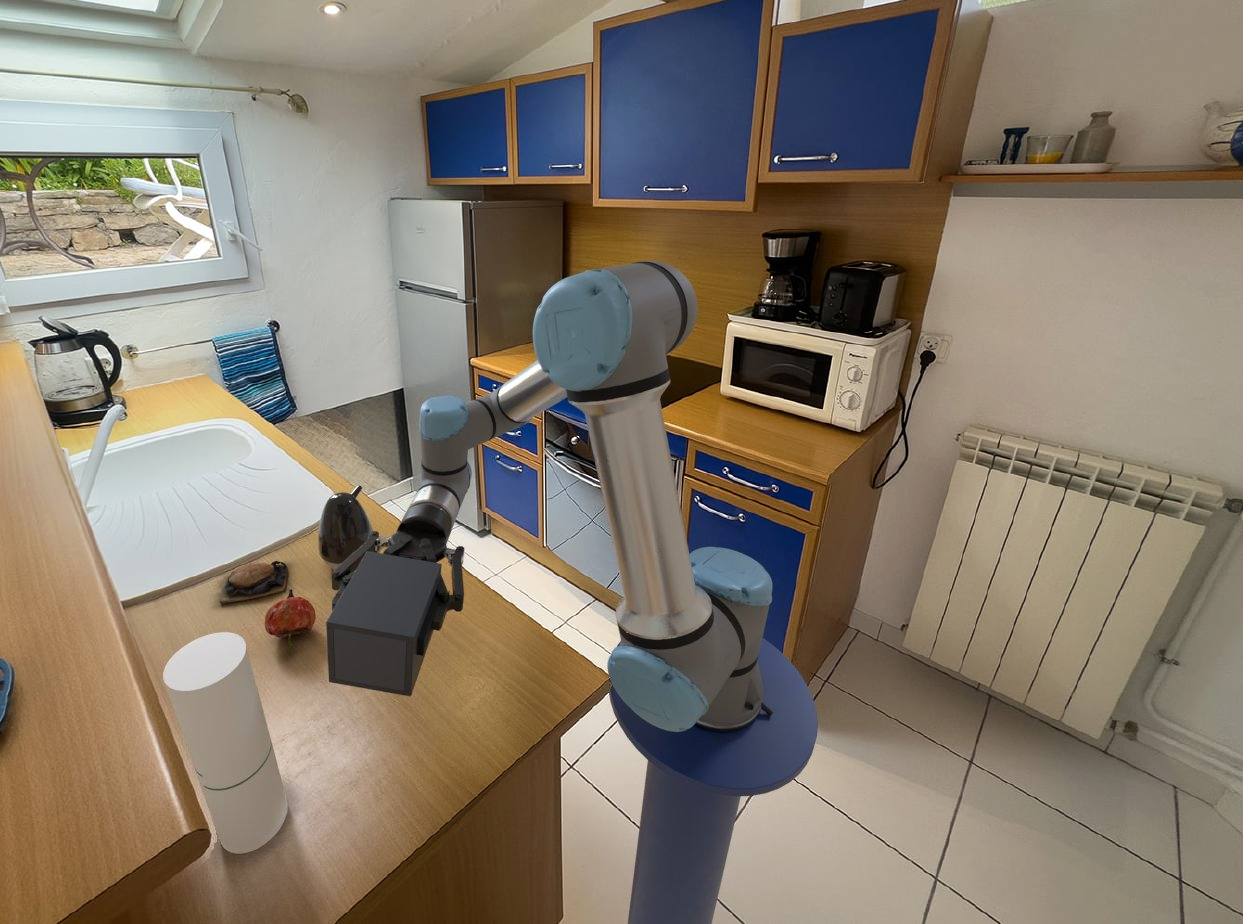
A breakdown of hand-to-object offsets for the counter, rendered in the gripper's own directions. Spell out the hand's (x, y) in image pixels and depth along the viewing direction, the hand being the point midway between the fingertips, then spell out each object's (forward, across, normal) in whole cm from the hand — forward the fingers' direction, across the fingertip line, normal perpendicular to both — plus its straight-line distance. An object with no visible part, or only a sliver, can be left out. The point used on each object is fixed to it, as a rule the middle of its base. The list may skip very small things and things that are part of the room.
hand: (375, 639), depth 65 cm
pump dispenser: (-35, +18, -24) cm, 46 cm away
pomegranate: (-17, +19, -23) cm, 34 cm away
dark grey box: (-4, 0, -7) cm, 8 cm away
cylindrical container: (+10, +10, -21) cm, 25 cm away
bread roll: (-27, +32, -25) cm, 49 cm away
